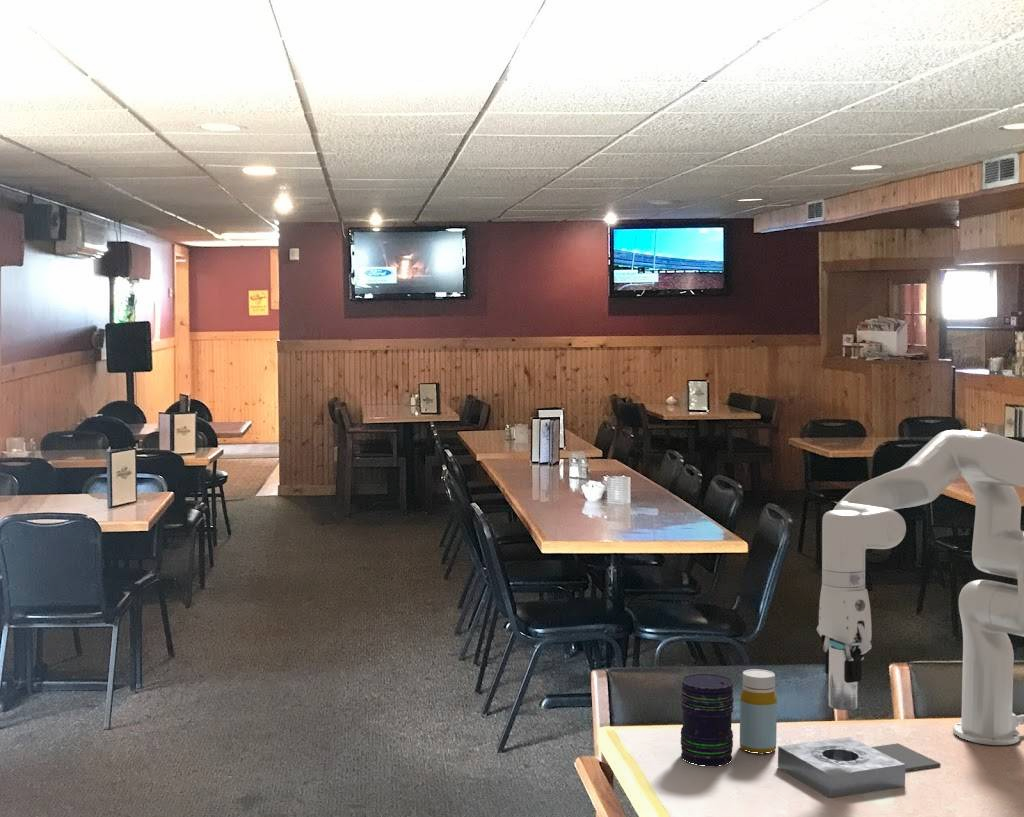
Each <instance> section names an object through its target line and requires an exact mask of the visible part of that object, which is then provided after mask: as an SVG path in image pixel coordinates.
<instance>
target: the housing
mask: <svg viewBox="0 0 1024 817" xmlns="http://www.w3.org/2000/svg"><path fill="white" fill-rule="evenodd" d="M777 747H778V748H777V768H778V767H779V768H778V769H780V768H781V769H780V770H781V771H783V770H784V771H783V772H785V771H786V773H787V774H788V773H789V775H791V776H792V777H793V776H794V777H793V778H795V779H797V780H799V781H800V782H802V783H803V784H806V785H808V786H809V787H810V788H812V789H814V790H815V791H818V792H819V793H821V794H823V795H824V796H826V797H828V798H829V799H831V798H837V797H844V796H850V795H858V794H863V793H871V792H877V791H882V790H888V789H889V790H890V789H896V788H902V787H906V772H905V764H904V763H902V762H900V761H898V760H896V759H894V758H892V757H890V756H888V755H886V754H884V753H882V752H880V751H877V750H875V749H873V748H871V747H872V746H869V745H867V744H866V743H863V742H861V741H859V740H857V739H855V738H854V737H851V736H846V737H844V736H843V737H837V738H831V739H823V740H816V741H815V740H814V741H808V742H799V743H793V744H786V745H778V746H777Z"/></svg>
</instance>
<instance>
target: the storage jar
mask: <svg viewBox="0 0 1024 817" xmlns="http://www.w3.org/2000/svg"><path fill="white" fill-rule="evenodd" d="M681 685H682V686H681V693H680V694H681V695H680V699H681V700H680V701H681V702H680V703H681V704H680V706H681V710H682V727H681V728H680V745H681V746H680V750H681V754H680V758H681V757H682V758H683V759H684V760H686V761H688V762H690V763H694V764H697V765H705V766H719V765H725V764H727V763H729V762H730V761H731V760H732V761H733V755H732V753H733V747H734V740H733V738H734V733H733V730H732V713H733V712H734V711H733V710H734V690H733V687H734V682H733V680H732V678H729V677H726V676H723V675H718V674H710V673H709V674H708V673H696V674H689V675H686V676H683V678H682V679H681ZM682 758H681V759H682ZM725 766H726V765H725ZM719 767H720V766H719Z"/></svg>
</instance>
